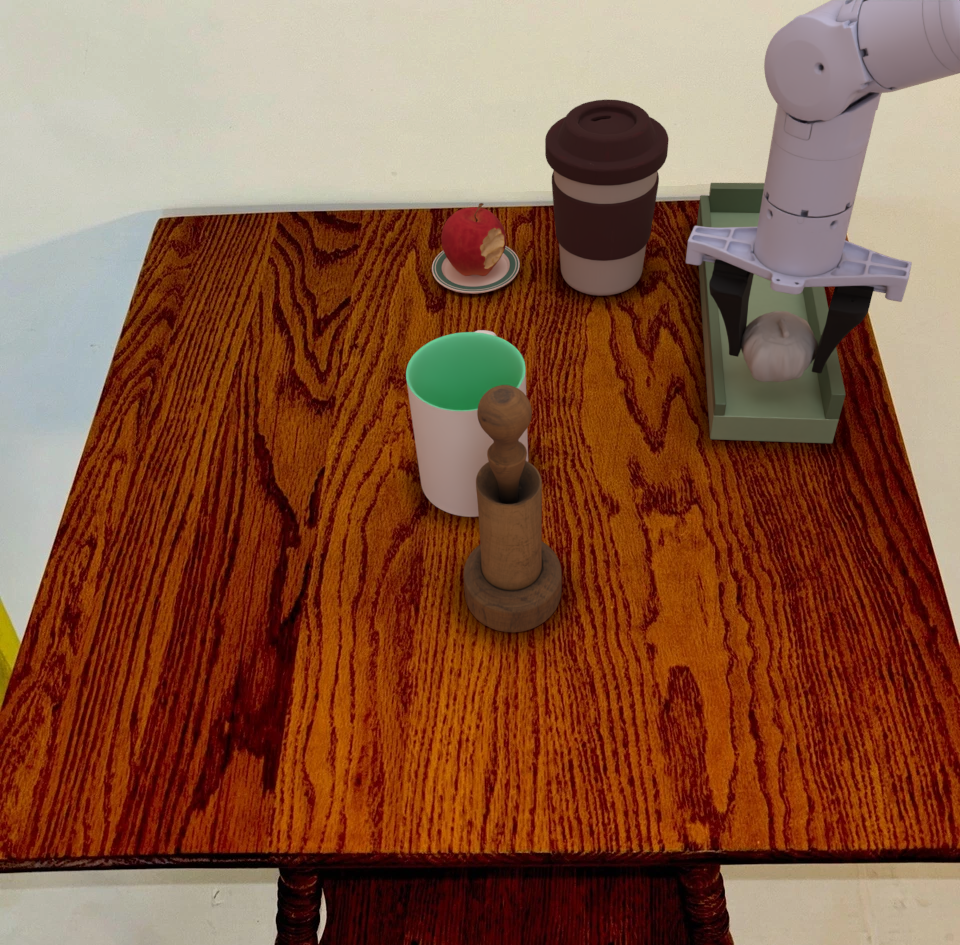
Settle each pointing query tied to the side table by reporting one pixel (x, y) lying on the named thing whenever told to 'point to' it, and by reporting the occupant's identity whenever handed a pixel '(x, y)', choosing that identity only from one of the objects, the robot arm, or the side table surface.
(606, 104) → the coffee cup
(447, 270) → the apple
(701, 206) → the tray
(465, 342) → the mug
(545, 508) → the side table surface
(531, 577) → the mortar and pestle
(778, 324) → the garlic
